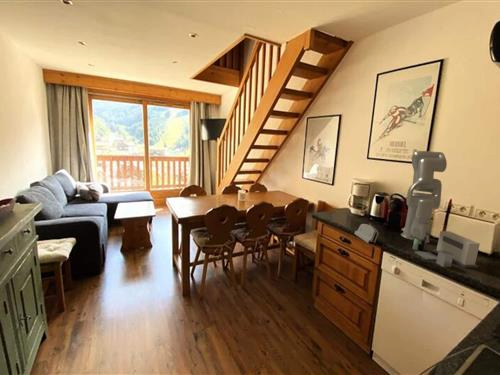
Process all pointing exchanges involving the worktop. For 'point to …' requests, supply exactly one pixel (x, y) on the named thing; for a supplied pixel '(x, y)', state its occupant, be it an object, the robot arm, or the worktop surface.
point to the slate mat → (426, 255)
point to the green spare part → (416, 244)
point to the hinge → (367, 233)
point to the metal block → (444, 258)
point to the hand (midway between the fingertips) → (417, 248)
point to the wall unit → (458, 248)
